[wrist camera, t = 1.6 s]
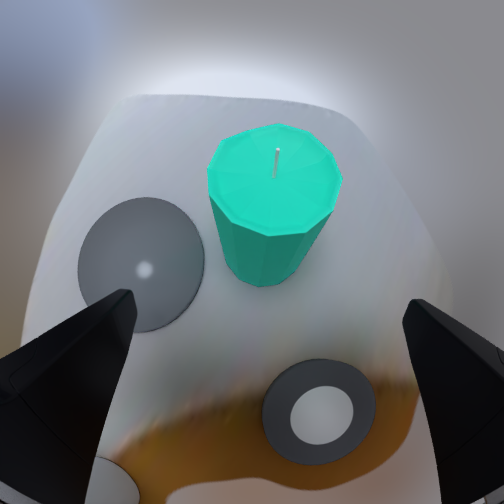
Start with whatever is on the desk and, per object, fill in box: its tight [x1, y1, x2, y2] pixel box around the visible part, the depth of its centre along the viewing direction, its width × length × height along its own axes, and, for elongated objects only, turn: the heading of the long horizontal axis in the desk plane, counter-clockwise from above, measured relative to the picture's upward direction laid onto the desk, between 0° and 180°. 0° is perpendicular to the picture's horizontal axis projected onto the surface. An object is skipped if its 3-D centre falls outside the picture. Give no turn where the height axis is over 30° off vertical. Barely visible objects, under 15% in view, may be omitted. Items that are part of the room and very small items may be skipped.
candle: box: [207, 123, 343, 287], centre depth 16 cm, size 6×6×12 cm
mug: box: [85, 457, 140, 504], centre depth 9 cm, size 10×7×12 cm, turn 64°
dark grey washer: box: [262, 359, 376, 465], centre depth 17 cm, size 8×8×2 cm
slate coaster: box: [78, 197, 204, 332], centre depth 21 cm, size 11×11×1 cm
